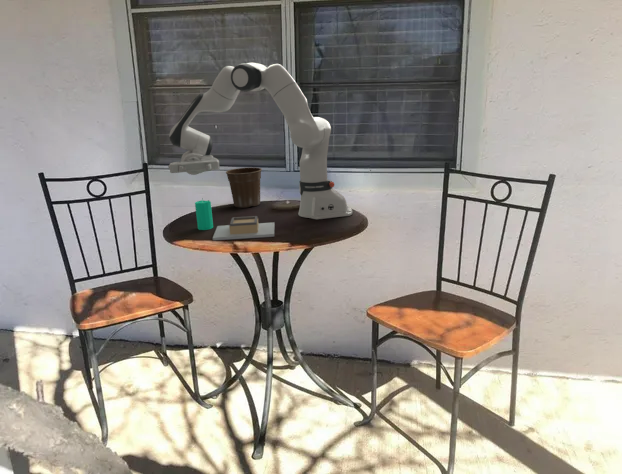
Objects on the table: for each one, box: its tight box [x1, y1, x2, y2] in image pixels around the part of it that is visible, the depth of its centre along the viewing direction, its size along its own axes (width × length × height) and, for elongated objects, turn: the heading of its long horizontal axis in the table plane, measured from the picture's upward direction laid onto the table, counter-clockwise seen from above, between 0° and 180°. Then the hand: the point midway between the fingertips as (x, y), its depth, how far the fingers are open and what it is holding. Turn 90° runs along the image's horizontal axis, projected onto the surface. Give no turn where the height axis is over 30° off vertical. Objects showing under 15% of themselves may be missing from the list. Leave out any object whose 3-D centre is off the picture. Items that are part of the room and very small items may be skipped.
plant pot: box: [225, 167, 263, 209], centre depth 231 cm, size 16×16×16 cm
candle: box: [194, 197, 214, 231], centre depth 196 cm, size 6×6×12 cm
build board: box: [212, 215, 276, 241], centre depth 188 cm, size 22×16×5 cm
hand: (196, 168), depth 203 cm, fingers open, 8 cm apart
